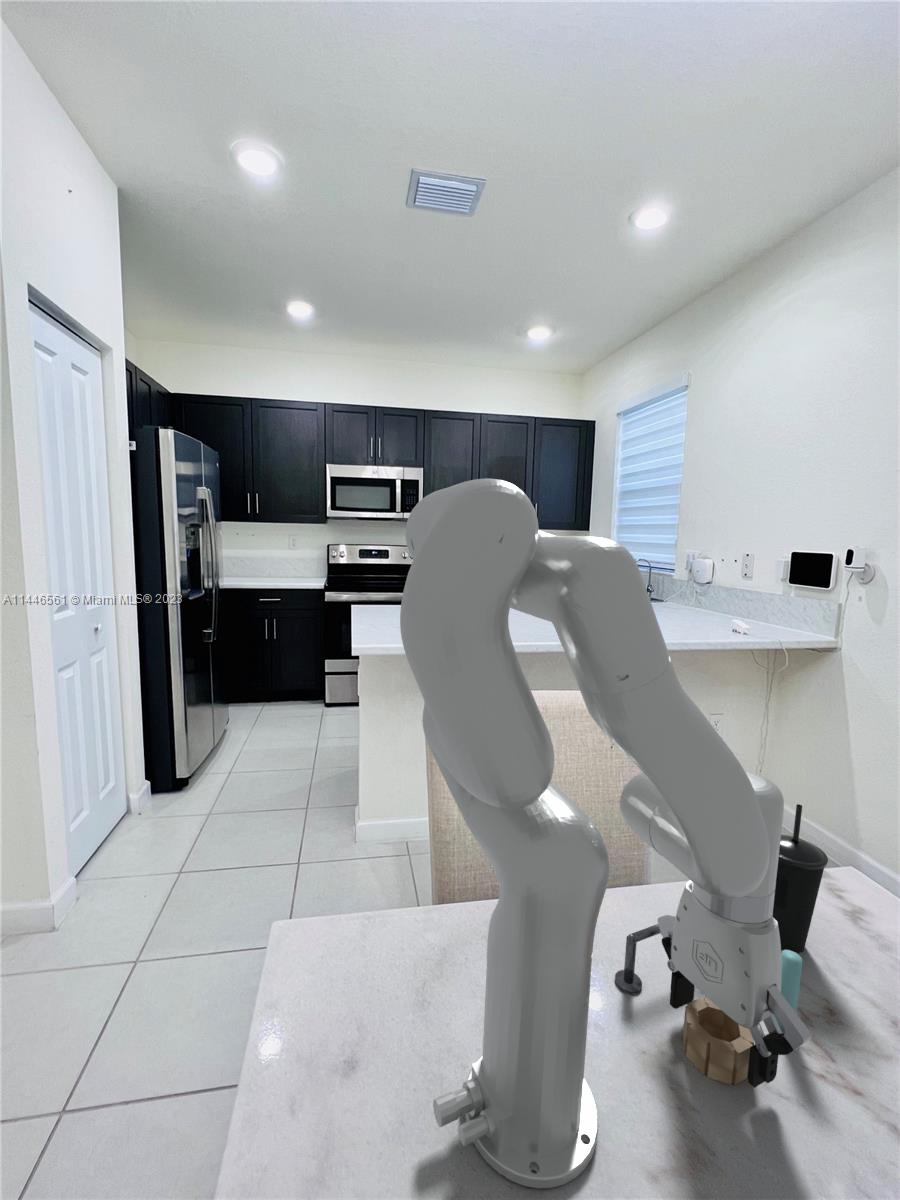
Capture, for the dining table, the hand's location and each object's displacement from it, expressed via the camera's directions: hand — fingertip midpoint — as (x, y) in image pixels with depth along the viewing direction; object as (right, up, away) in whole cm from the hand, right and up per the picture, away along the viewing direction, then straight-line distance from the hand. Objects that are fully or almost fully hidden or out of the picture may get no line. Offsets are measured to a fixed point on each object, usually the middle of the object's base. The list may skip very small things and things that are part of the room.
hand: (717, 1038), depth 58 cm
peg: (+9, -2, +4) cm, 10 cm away
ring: (0, -2, 0) cm, 2 cm away
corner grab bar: (0, -1, +10) cm, 10 cm away
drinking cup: (+18, -1, +18) cm, 25 cm away
